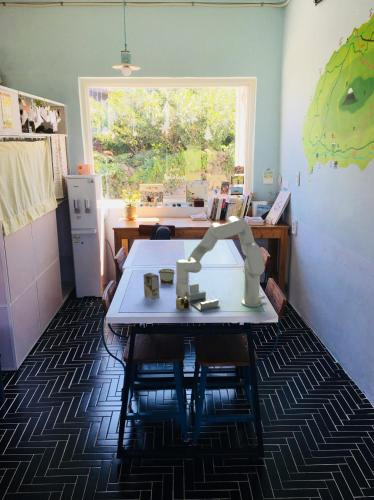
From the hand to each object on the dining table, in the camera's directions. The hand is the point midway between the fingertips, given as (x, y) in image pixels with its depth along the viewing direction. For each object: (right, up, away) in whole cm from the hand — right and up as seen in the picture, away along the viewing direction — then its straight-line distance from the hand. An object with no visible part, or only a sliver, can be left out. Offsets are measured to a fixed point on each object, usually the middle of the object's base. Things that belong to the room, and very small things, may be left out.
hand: (183, 305), depth 261 cm
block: (0, -2, +1) cm, 2 cm away
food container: (-12, +11, +47) cm, 50 cm away
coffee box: (-21, +3, +19) cm, 29 cm away
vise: (+12, 0, +7) cm, 14 cm away
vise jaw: (+8, +3, +14) cm, 17 cm away
